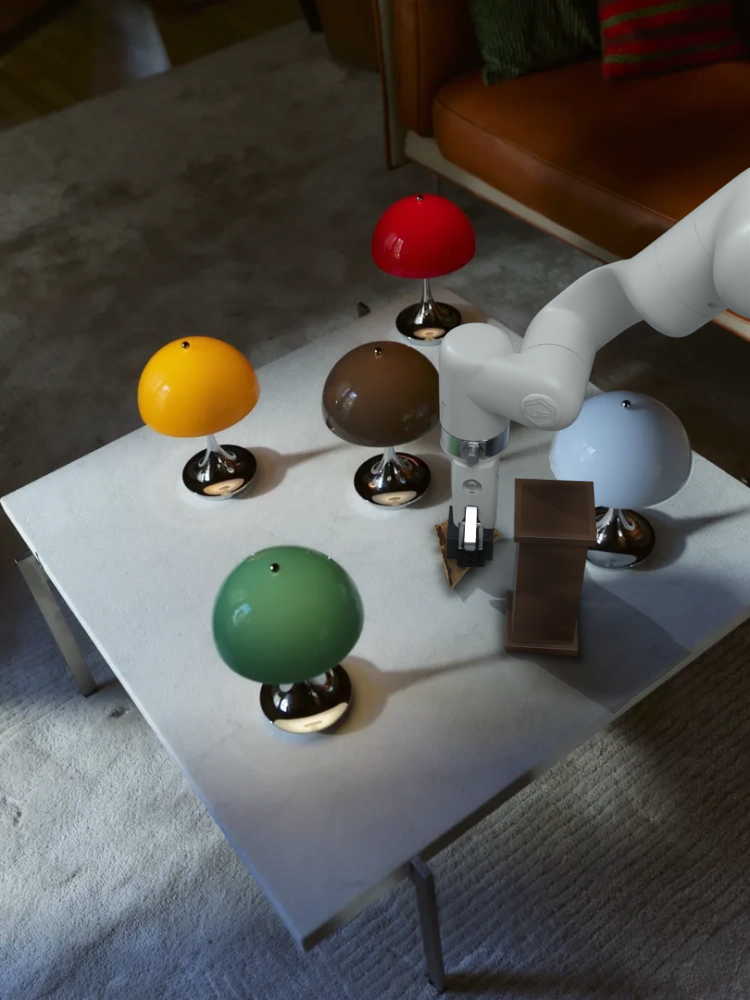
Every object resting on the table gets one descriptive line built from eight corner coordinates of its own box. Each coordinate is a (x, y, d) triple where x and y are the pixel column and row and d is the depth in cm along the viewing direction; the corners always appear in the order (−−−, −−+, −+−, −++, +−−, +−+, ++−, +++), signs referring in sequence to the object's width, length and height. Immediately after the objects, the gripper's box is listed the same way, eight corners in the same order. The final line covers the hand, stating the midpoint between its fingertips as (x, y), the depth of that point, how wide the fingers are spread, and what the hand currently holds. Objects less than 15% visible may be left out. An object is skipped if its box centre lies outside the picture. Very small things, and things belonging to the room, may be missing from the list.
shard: (450, 594, 113) (450, 585, 112) (401, 564, 117) (401, 554, 115) (503, 539, 118) (504, 530, 117) (454, 512, 122) (454, 503, 121)
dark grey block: (493, 526, 118) (494, 506, 115) (492, 560, 114) (493, 540, 111) (449, 524, 118) (449, 504, 116) (446, 558, 115) (446, 538, 112)
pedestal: (575, 599, 112) (593, 481, 97) (577, 656, 106) (597, 540, 92) (506, 595, 112) (515, 477, 98) (505, 651, 107) (513, 536, 93)
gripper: (507, 489, 96) (501, 592, 109) (510, 380, 108) (505, 484, 120) (434, 486, 97) (436, 588, 110) (445, 378, 109) (446, 482, 121)
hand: (472, 534), depth 115 cm, fingers open, 9 cm apart
